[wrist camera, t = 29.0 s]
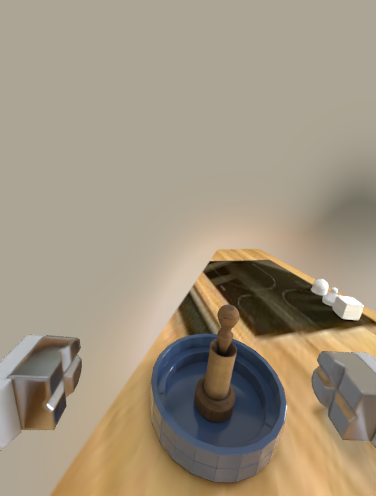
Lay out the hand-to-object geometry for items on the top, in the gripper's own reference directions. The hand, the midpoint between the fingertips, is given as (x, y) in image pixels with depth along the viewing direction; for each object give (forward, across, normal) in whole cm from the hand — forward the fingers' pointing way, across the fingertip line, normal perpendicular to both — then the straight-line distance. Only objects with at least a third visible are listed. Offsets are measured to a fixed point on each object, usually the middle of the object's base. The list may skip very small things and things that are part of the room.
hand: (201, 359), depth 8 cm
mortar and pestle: (+21, -7, +29) cm, 37 cm away
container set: (+58, -52, +30) cm, 84 cm away
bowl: (+21, -7, +30) cm, 37 cm away
